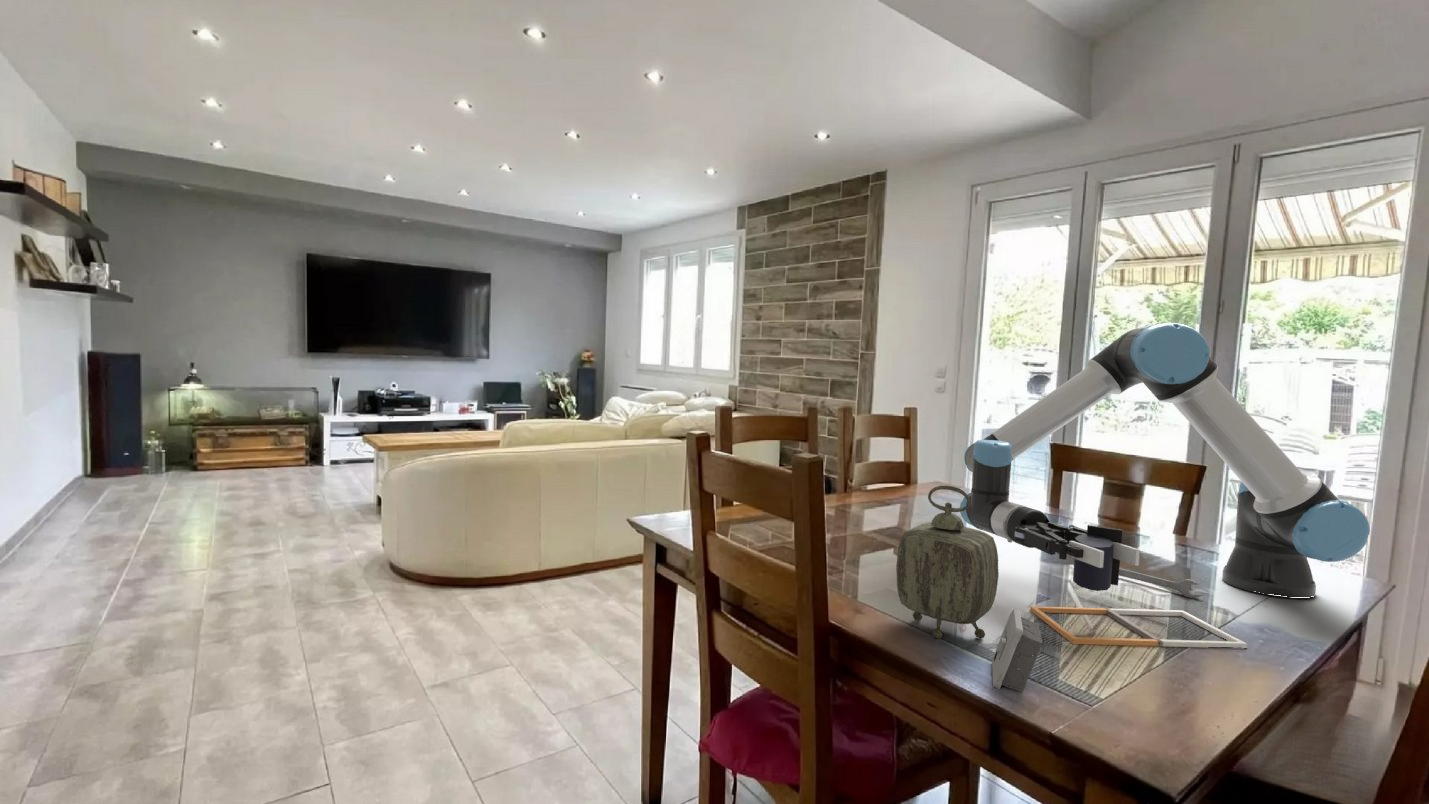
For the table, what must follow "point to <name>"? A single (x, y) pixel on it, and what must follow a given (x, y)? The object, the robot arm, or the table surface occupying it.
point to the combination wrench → (1162, 582)
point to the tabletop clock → (947, 569)
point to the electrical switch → (1016, 652)
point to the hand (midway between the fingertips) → (1119, 558)
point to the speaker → (1109, 573)
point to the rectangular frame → (1136, 628)
